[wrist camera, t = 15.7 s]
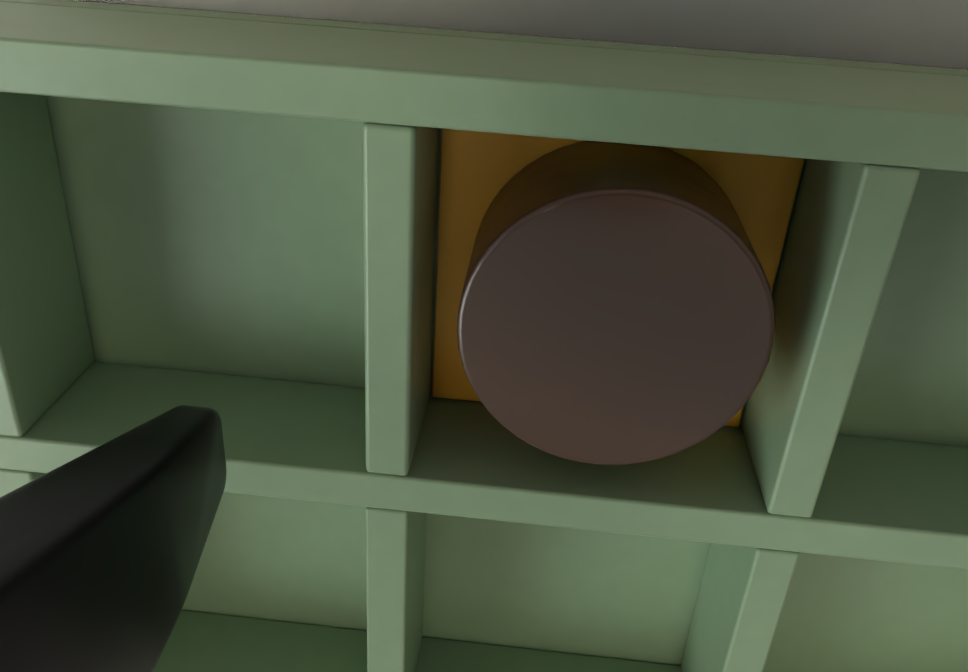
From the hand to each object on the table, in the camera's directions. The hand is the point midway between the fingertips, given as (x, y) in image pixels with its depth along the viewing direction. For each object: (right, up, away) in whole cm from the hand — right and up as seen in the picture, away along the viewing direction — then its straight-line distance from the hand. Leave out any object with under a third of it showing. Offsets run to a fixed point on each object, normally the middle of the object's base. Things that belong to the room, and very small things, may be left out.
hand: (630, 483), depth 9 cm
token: (0, +3, +5) cm, 6 cm away
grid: (0, 0, +7) cm, 7 cm away
